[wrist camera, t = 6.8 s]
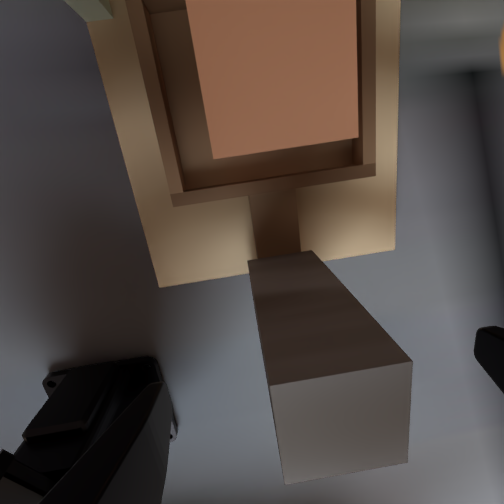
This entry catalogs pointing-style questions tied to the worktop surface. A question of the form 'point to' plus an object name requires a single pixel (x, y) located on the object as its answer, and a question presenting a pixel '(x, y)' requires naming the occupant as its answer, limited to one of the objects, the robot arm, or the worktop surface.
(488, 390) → the worktop surface
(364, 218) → the board
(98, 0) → the tunnel
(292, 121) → the block
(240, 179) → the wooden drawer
